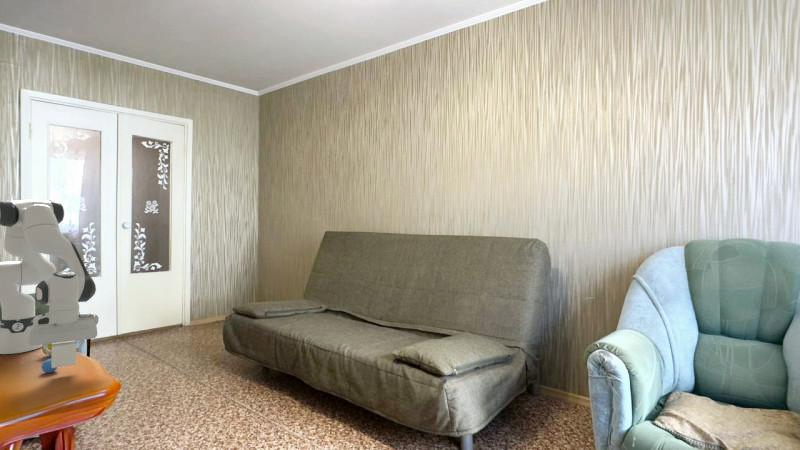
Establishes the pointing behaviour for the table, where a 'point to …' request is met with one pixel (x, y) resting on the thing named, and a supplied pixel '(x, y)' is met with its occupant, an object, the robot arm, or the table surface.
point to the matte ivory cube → (63, 354)
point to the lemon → (48, 348)
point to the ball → (48, 366)
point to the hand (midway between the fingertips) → (63, 353)
